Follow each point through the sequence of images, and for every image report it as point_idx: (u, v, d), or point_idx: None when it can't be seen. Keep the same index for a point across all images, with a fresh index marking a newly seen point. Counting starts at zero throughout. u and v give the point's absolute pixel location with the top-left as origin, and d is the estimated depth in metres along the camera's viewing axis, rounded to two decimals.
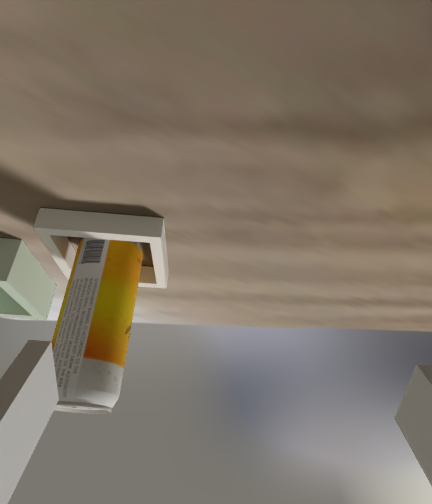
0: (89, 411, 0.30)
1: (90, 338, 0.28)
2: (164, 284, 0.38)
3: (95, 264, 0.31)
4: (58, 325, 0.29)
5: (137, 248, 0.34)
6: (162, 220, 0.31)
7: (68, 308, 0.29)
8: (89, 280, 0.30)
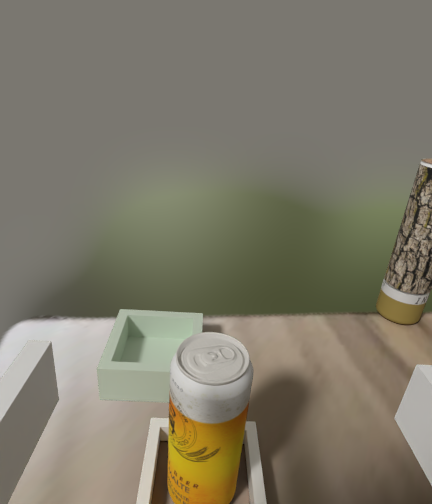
0: (178, 358, 0.25)
1: None
2: None
3: None
4: None
5: None
6: None
7: None
8: None
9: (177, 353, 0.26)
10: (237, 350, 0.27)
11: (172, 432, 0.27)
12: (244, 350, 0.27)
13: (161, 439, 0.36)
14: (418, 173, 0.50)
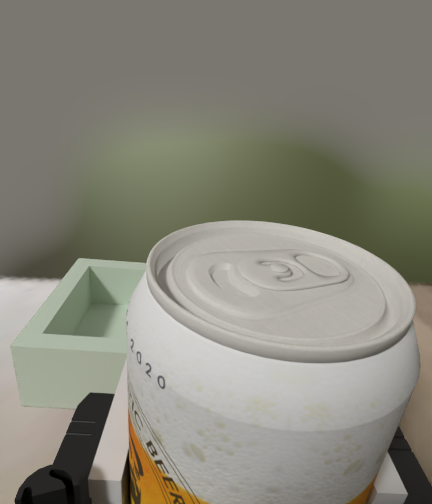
0: (154, 270, 0.07)
1: None
2: None
3: None
4: None
5: None
6: None
7: None
8: None
9: (153, 256, 0.07)
10: (347, 261, 0.08)
11: None
12: (370, 261, 0.08)
13: None
14: None
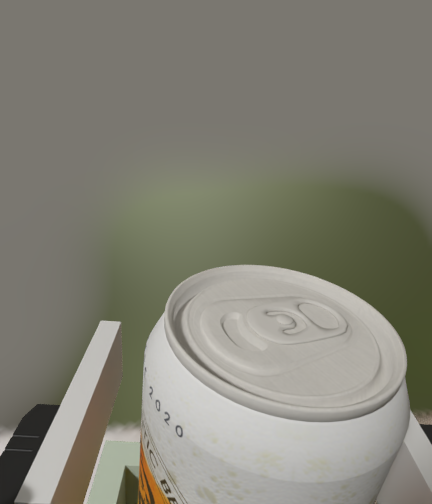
0: (171, 321, 0.08)
1: None
2: None
3: None
4: None
5: None
6: None
7: None
8: None
9: (170, 306, 0.08)
10: (346, 311, 0.09)
11: None
12: (367, 311, 0.09)
13: None
14: None
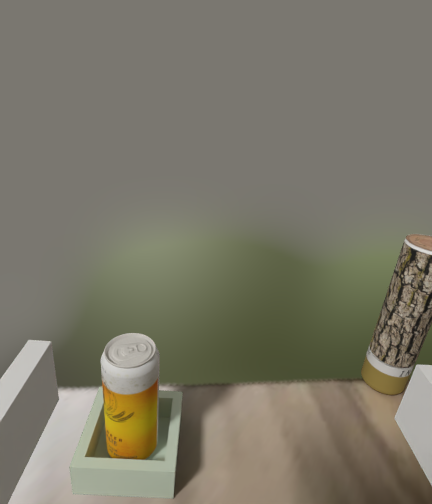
0: (105, 350, 0.37)
1: (156, 389, 0.39)
2: None
3: None
4: None
5: None
6: None
7: None
8: None
9: (106, 347, 0.38)
10: (149, 346, 0.39)
11: (104, 402, 0.39)
12: (154, 346, 0.38)
13: None
14: (402, 251, 0.50)
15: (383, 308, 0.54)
